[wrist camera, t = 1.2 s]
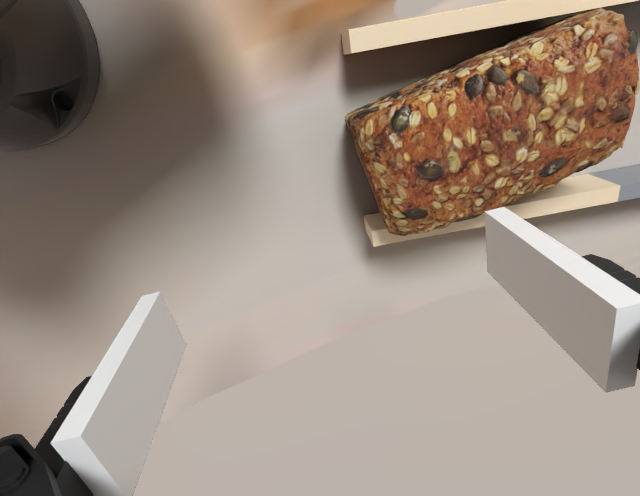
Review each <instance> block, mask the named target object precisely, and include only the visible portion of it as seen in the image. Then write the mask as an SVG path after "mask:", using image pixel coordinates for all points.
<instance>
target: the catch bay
mask: <svg viewBox="0 0 640 496" xmlns="http://www.w3.org/2000/svg"><path fill="white" fill-rule="evenodd" d="M633 1H639V0H506V1H501V2H495V3H490V4H485V5H479V6H474V7H468V8H463V9H457V10H452V11H446V12H441V13H436V14H430V15H425V16H419V17H414V18H408V19H403V20H397V21H392V22H387V23H381V24H376V25H370V26H365V27H359V28H354V29H349V30H347V31H345V32H343V33H342V34H341V37H342V45H343V53H344V55H345V54H351V53H356V52H361V51H367V50H372V49H378V48H383V47H389V46H394V45H400V44H405V43H410V42H416V41H421V40H427V39H432V38H438V37H443V36H448V35H454V34H459V33H465V32H470V31H476V30H481V29H487V28H492V27H497V26H503V25H508V24H514V23H519V22H525V21H530V20H535V19H541V18H546V17H552V16H557V15H563V14H568V13H574V12H579V11H584V10H590V9H595V8H601V7H606V6H612V5H617V4H623V3H628V2H633ZM635 198H640V164H639V165H633V166H628V167H623V168H617V169H612V170H606V171H601V172H596V173H590V174H585V175H579V176H574V177H568V178H564V179H562V180H561V181H560V182H559V183H558V184H557V185H556V186H555V187H554V188H552V189H549V190H547V191H537V192H536V193H534V194H529V195H525V196H523V197H520V198H519V199H517V200H516V201H512V202H510V203H508V204H506V205H504V206H502V207H505V208H507V209H508V210H510V211H511V212H513V213H515V214H516V215H518V216H519V217H521V218H522V219H527V218H532V217H538V216H543V215H548V214H554V213H559V212H565V211H570V210H575V209H581V208H586V207H592V206H597V205H603V204H608V203H613V202H619V201H624V200H630V199H635ZM364 223H365V230H366V232H367V234H368V236H369V238H370V240H371V242H372V244H373V246H374V247H375V246H381V245H386V244H391V243H397V242H402V241H408V240H413V239H418V238H424V237H429V236H435V235H440V234H446V233H451V232H456V231H462V230H467V229H473V228H478V227H483V226H485V213H482V214H481V215H480V216H478V217H476V218H473V219H469V220H464V221H460V222H453V223H451V224H450V225H449V226H447V227H445V228H441V229H434V230H430V231H429V232H427V233H419V234H408V235H406V236H400V235H394V234H391V233H389V231H388V229H387V227H386V225H385V223H384V221H383V219H382V216H381V214H380V212H379V213H373V214H368V215H364Z"/></svg>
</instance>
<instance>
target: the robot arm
mask: <svg viewBox="0 0 640 496" xmlns="http://www.w3.org/2000/svg"><path fill="white" fill-rule="evenodd" d="M98 79H99V59H98V51H97V46H96V41H95V37H94V34H93V31H92V28H91V25H90V22H89V20H88V18H87V15H86V13H85V11H84V9H83V7H82V5H81V3H80V2H79V0H0V151H21V150H27V149H31V148H35V147H38V146H41V145H44V144H48V143H51V142H53V141H56V140H58V139H60V138H62V137H64V136H66V135H67V134H69V133H70V132H71V131H73V130H74V129H75V128H76V127H77V126H78V125H79V124H80V123H81V122H82V121H83V119H84V118H85V116H86V115H87V113H88V112H89V110H90V108H91V106H92V104H93V101H94V98H95V95H96V91H97V86H98ZM485 231H486V252H487V272H488V273H489V274H490V275H491V276H492V277H493V278H494V279H495V280H496V281H497V282H498V283H499V284H500V285H501V286H502V287H503V288H504V289H505V290H506V291H507V292H508V293H509V294H510V295H511V296H512V297H513V298H514V299H515V300H516V301H517V302H518V303H519V304H520V305H521V306H522V307H523V308H524V309H525V310H526V311H527V312H528V314H529V315H530V316H531V317H533V319H535V321H536V322H537V323H538V324H539V325H540V326H541V327H543V329H544V330H545V331H546V332H547V333H548V334H549V335H550V336H551V337H552V338H553V339H554V340H555V341H556V342H557V343H558V344H559V345H560V346H561V347H562V348H563V349H564V350H565V351H566V352H567V353H568V354H569V355H570V356H571V357H572V358H573V360H574V361H575V362H576V363H577V364H578V365H579V366H580V367H581V368H582V369H583V370H584V371H585V372H586V373H587V374H588V375H589V376H590V377H591V378H592V379H593V380H594V381H595V382H596V383H597V384H598V385H599V386H600V387H601V388H602V389H603V390H604V391H605V392H610V391H614V390H619V389H623V388H627V387H631V386H634V385H635V380H636V375H637V369H639V370H640V278H636V276H635V275H634V274H632V273H630V272H629V271H627V270H626V271H625V270H624V268H622V267H620V266H619V265H617V264H615V263H614V262H612V261H610V260H608V259H605V258H601V257H598V256H595V255H592V254H590V255H586V256H582V257H581V256H579V255H578V254H576V253H575V252H573V251H572V250H570V249H569V248H567V247H565V246H564V245H562V244H561V243H559V242H558V241H556V240H555V239H553V238H552V237H550V236H548V235H547V234H545V233H544V232H542V231H541V230H539V229H538V228H536V227H535V226H533V225H531V224H530V223H528V222H527V221H525V220H524V219H522V218H521V217H519V216H518V215H516V214H515V213H513V212H511V211H510V210H508V209H507V208H505V207H501V208H497V209H493V210H489V211H485ZM186 345H187V344H186V342H185V340H184V338H183V336H182V334H181V332H180V330H179V328H178V326H177V324H176V322H175V320H174V318H173V316H172V314H171V312H170V310H169V308H168V306H167V304H166V302H165V300H164V298H163V296H162V294H161V292H156V293H152V294H148V295H144V296H142V297H141V298H140V300H139V302H138V303H137V305H136V306H135V308H134V310H133V311H132V313H131V314H130V316H129V318H128V319H127V321H126V322H125V324H124V326H123V327H122V329H121V330H120V332H119V334H118V335H117V337H116V338H115V340H114V342H113V343H112V345H111V346H110V348H109V350H108V351H107V353H106V355H105V356H104V358H103V359H102V361H101V363H100V364H99V366H98V367H97V369H96V371H95V372H94V374H93V375H92V376H89V377H86V378H85V379H84V380H83V381H82V382H81V383H80V384H79V385H78V386H77V387H76V388H75V389H74V390H73V391H72V393H71V394H70V396H69V397H68V399H67V400H66V402H65V403H64V407H62V408H61V410H60V411H59V413H58V414H57V418H55V419H54V420H53V422H52V423H51V425H50V426H49V428H48V430H47V431H46V433H45V434H44V436H43V437H42V439H41V440H40V442H39V443H38V445H37V446H36V448H35V449H34V448H33V447H32V446H31V444H30V443H29V442H28V441H27V440H26V439H25V438H24V437H23V436H22V435H21V434H13V435H10V436H6V437H3V438H1V439H0V496H133V494H134V491H135V488H136V486H137V483H138V480H139V477H140V474H141V471H142V468H143V466H144V463H145V460H146V457H147V455H148V452H149V449H150V445H151V443H152V440H153V437H154V435H155V432H156V429H157V426H158V424H159V421H160V418H161V415H162V412H163V409H164V407H165V404H166V401H167V398H168V395H169V393H170V390H171V387H172V384H173V381H174V378H175V376H176V373H177V370H178V367H179V364H180V361H181V359H182V356H183V353H184V350H185V347H186Z"/></svg>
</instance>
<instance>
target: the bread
mask: <svg viewBox="0 0 640 496" xmlns="http://www.w3.org/2000/svg"><path fill="white" fill-rule="evenodd" d="M637 43H638V42H637V36H636V33H635V31H634V30H631V31H628V29H627V28H626V26H625V23H624V15H623V14H617V13H615V12H613V11H611V10H609V11H606V10H604V9H602V8H599V9H596V10H593V11H590V12H587V13H584V14H581V13H580V14H578V15H576V16H569V17H567V18H564V19H562V20H560V21H558V22H555V23H553V24H551V25H548V26H546V27H543V28H541V29H538V30H536V31H533V32H530V33H527V34H524V35H522V36H519V37H517V38H515V39H513V40H511V41H509V42H507V43H506V44H504V45H501V46H498V47H496V48H493V49H491V50H489V51H486V52H484V53H481V54H478V55H475V56H474V57H472V58H470V59H467V60H465V61H463V62H460V63H458V64H455V65H453V66H452V67H449V68H446V69H444V70H441V71H439V72H437V73H435V74H433V75H431V76H429V77H426V78H423V79H421V80H419V81H417V82H414V83H412V84H410V85H409V86H406V87H404V88H403V89H400V90H396V91H393V92H391V93H389V94H387V95H385V96H383V97H381V98H379V99H378V100H376V101H372V102H371V103H369V104H367V105H365V106H363V107H361V108H358V109H356V110H355V111H352V112H350V113H348V114H347V116H346V117H345V118H346V119H345V121H346V123H347V126H348V129H349V131H350V134H351V136H352V139H353V142H354V145H355V148H356V151H357V154H358V156H359V160H360V162H361V164H362V167H363V169H364V172H365V175H366V177H367V180H368V182H369V185H370V187H371V190H372V192H373V194H374V197H375V200H376V203H377V206H378V209H379V211H380V214H381V216H382V219H383V221H384V223H385V225H386V227H387V229H388V231H389V233H391V234H394V235H400V236H406V235H408V234H419V233H427V232H429V231H430V230H434V229H441V228H445V227H447V226H449V225H450V224H451V223H453V222H460V221H464V220H469V219H473V218H476V217H478V216H480V215H481V214H482V213H485V211H489V210H493V209H497V208H501V207H502V206H504V205H506V204H508V203H510V202H512V201H516V200H517V199H519V198H520V197H523V196H525V195H529V194H534V193H536V192H537V191H547V190H549V189H552V188H554V187H555V186H556V185H557V184H558V183H559V182H560V181H561V180H562V179H564V178H566V177H568V176H569V175H571V174H573V173H575V172H579V171H582V170H584V169H586V168H588V167H589V166H593V165H596V164H598V163H599V162H601V161H602V160H604V159H606V158H608V157H609V156H610V155H611V154H612V152H614V151H615V150H617V149H618V148H620V147H621V148H622V146H623V144H624V140H625V136H626V134H627V131H628V129H629V126H630V122H631V118H632V114H633V110H634V106H635V95H636V94H638V92H639V88H640V84H639V79H638V78H639V77H638V71H639V68H638V61H637V50H636V47H637Z"/></svg>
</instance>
